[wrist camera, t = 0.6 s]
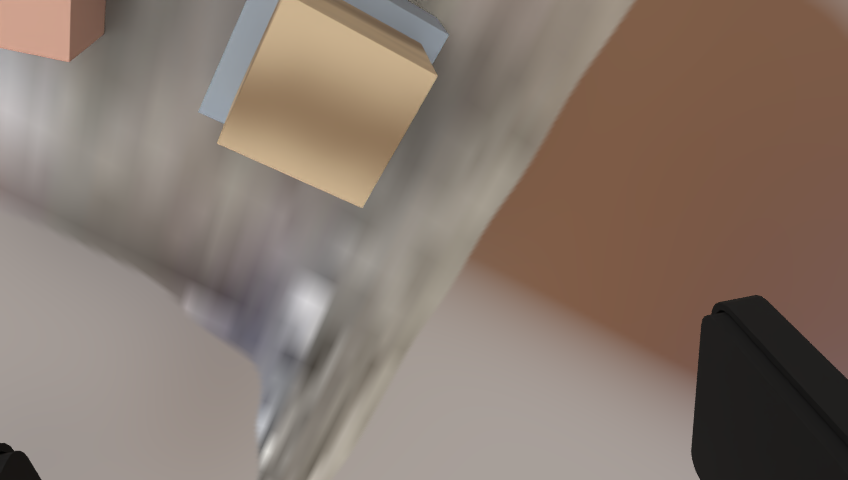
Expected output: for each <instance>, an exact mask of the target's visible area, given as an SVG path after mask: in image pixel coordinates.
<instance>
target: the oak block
mask: <svg viewBox="0 0 848 480" xmlns="http://www.w3.org/2000/svg"><path fill="white" fill-rule="evenodd" d="M437 76H438V75H437V73H436V72H435V70H434V68H433V66H432V64H431V62H430V60H429V58H428V56H427V54H426V52H425V50H424V48H423V46H422V44H421V43H419V42H417V41H416V40H414V39H412V38H410V37H408V36H407V35H405V34H403V33H401V32H399V31H397V30H396V29H394V28H392V27H390V26H388V25H387V24H385V23H383V22H381V21H379V20H378V19H376V18H374V17H372V16H370V15H369V14H367V13H365V12H363V11H361V10H360V9H358V8H356V7H354V6H352V5H351V4H349V3H347V2H345V1H343V0H279V1H278V3H277V5H276V7H275V9H274V12H273V14H272V16H271V18H270V20H269V23H268V25H267V27H266V29H265V32H264V34H263V36H262V38H261V40H260V43H259V45H258V47H257V49H256V51H255V54H254V56H253V58H252V60H251V62H250V65H249V67H248V69H247V71H246V73H245V76H244V78H243V80H242V82H241V85H240V87H239V89H238V91H237V93H236V96H235V98H234V100H233V102H232V105H231V108H230V110H229V113H228V116H227V118H226V121H225V123H224V126H223V129H222V131H221V134H220V137H219V139H218V142H217V144H219V145H222V146H224V147H226V148H228V149H231V150H233V151H235V152H237V153H240V154H242V155H244V156H246V157H249V158H251V159H253V160H255V161H257V162H260V163H262V164H264V165H266V166H269V167H271V168H273V169H275V170H278V171H280V172H282V173H284V174H287V175H289V176H291V177H293V178H296V179H298V180H300V181H302V182H305V183H307V184H309V185H311V186H314V187H316V188H318V189H320V190H323V191H325V192H327V193H329V194H332V195H334V196H336V197H338V198H341V199H343V200H345V201H347V202H350V203H352V204H354V205H356V206H359V207H361V208H363V206H364V204H365V202H366V201H367V199H368V197H369V195H370V194H371V192H372V190H373V188H374V187H375V185H376V183H377V181H378V180H379V178H380V176H381V174H382V173H383V171H384V169H385V167H386V166H387V164H388V162H389V160H390V159H391V157H392V155H393V153H394V152H395V150H396V148H397V146H398V145H399V143H400V141H401V139H402V138H403V136H404V134H405V132H406V131H407V129H408V127H409V125H410V124H411V122H412V120H413V118H414V117H415V115H416V113H417V111H418V110H419V108H420V106H421V104H422V103H423V101H424V99H425V97H426V96H427V94H428V92H429V90H430V89H431V87H432V85H433V83H434V82H435V80H436V78H437Z"/></svg>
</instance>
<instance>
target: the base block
mask: <svg viewBox="0 0 848 480" xmlns="http://www.w3.org/2000/svg"><path fill="white" fill-rule="evenodd" d="M278 1H279V0H247V1H246V3H245V5H244V7H243V10H242V12H241V14H240V17H239V19H238V21H237V24H236V26H235V28H234V30H233V33H232V35H231V37H230V40H229V42H228V44H227V47H226V49H225V51H224V54H223V56H222V58H221V60H220V63H219V65H218V67H217V70H216V72H215V74H214V77H213V79H212V81H211V83H210V86H209V88H208V90H207V93H206V95H205V97H204V100H203V102H202V104H201V107H200V109H199V111H198V112H199V113H201V114H203V115H206V116H208V117H210V118H212V119H214V120H217V121H219V122H221V123H223V124H224V123H225V121H226V118H227V116H228V113H229V110H230V108H231V105H232V102H233V100H234V98H235V96H236V93H237V91H238V89H239V87H240V85H241V82H242V80H243V78H244V76H245V73H246V71H247V69H248V67H249V65H250V62H251V60H252V58H253V56H254V54H255V51H256V49H257V47H258V45H259V43H260V40H261V38H262V36H263V34H264V32H265V29H266V27H267V25H268V23H269V20H270V18H271V16H272V14H273V12H274V9H275V7H276V5H277V3H278ZM343 1H345V2H347V3H349V4H351V5H352V6H354V7H356V8H358V9H360V10H361V11H363V12H365V13H367V14H369V15H370V16H372V17H374V18H376V19H378V20H379V21H381V22H383V23H385V24H387V25H388V26H390V27H392V28H394V29H396V30H397V31H399V32H401V33H403V34H405V35H407V36H408V37H410V38H412V39H414V40H416V41H417V42H419V43H421V44H422V46H423V48H424V50H425V52H426V54H427V56H428V58H429V60H430V62H431V64H433V62H434V61H435V59H436V57H437V55H438V54H439V52H440V50H441V48H442V47H443V45H444V43H445V41H446V39H447V38H448V36H449V34H448V33H447V31H446V30H445V28H444V27H443V26H442V24H441V23H440V21H439V20H438V19H437V17H435V16H433V15H432V14H430V13H428V12H426V11H425V10H423V9H421V8H419V7H418V6H416V5H414V4H412V3H411V2H409V1H407V0H343Z"/></svg>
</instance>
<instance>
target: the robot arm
mask: <svg viewBox="0 0 848 480" xmlns="http://www.w3.org/2000/svg"><path fill="white" fill-rule="evenodd" d="M691 453H692V460H693V464H694V467H695V470H696V472H697V474H698V476H699V478H700V480H848V379H847V378H846V377H844V375H843V374H842V373H840V372H839V371H838V370H837V369H836V368H835V367H834V366H833V365H832V364H831V363H830V362H829V361H828V360H827V359H826V358H825V357H824V356H823V355H822V354H821V353H820V352H819V351H818V350H817V349H816V348H815V347H814V346H813V345H812V344H811V343H810V342H809V341H808V340H807V339H806V338H805V337H804V336H803V335H802V334H801V333H800V332H799V331H798V330H797V329H796V328H795V327H794V326H793V325H791V323H789V322H788V321H787V320H786V319H785V318H784V317H783V316H782V315H781V314H780V313H779V312H778V311H777V310H776V309H775V308H774V307H773V306H772V305H771V304H770V303H769V302H768V301H767V300H766V299H764V298H763V297H762V296H758V295H754V296H749V297H744V298H738V299H733V300H728V301H723V302H719V303H717V304H715V305H714V307H713V309H712V314H711V315H707V316H705V317H704V318H703V319H702V324H701V335H700V348H699V360H698V373H697V386H696V398H695V411H694V424H693V436H692V449H691ZM0 480H41V479H40V477H39V475H38V473H37V472H36V470H35V468H34V467H33V465H32V463H31V462H30V460H29V458H28V457H27V456H26V455H25V453H23V452H21V451H14V450H13V449H12V448H11V446H9V445H7V444H5V443H0Z"/></svg>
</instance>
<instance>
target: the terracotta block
mask: <svg viewBox="0 0 848 480" xmlns="http://www.w3.org/2000/svg"><path fill="white" fill-rule="evenodd" d="M105 4H106V0H0V48H3V49H8V50H13V51H18V52H23V53H27V54H32V55H37V56H42V57H47V58H52V59H56V60H61V61H66V62H70V61H71V60H72V59H74V58H75V57H76V56H77V55H79V54H80V53H81V52H82V51H84V50H85V49H86V48H87V47H89V46H90V45H91V44H92V43H94V42H95V41H96V40H97V39H98V38H100V37H101V36H102V35H103V34H104V25H105Z"/></svg>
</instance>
